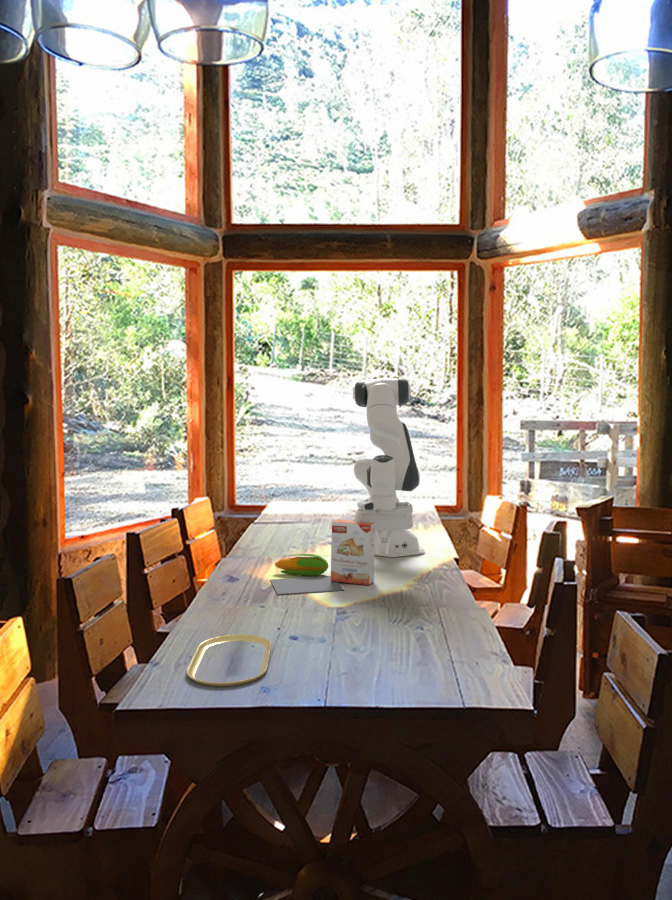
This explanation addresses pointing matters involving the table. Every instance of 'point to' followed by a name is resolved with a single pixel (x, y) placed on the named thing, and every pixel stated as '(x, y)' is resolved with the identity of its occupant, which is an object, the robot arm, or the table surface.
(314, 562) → the corn
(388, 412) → the robot arm
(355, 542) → the cracker box
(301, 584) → the mat
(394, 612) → the table surface
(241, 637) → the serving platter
